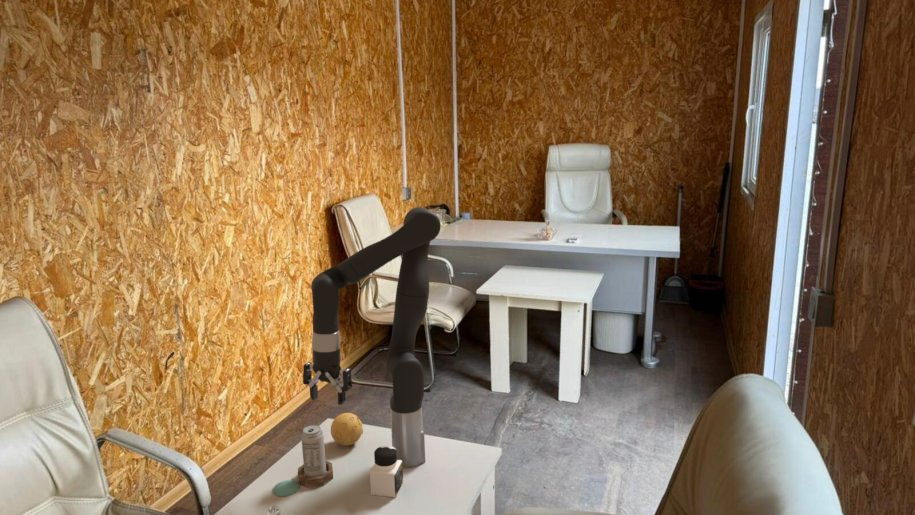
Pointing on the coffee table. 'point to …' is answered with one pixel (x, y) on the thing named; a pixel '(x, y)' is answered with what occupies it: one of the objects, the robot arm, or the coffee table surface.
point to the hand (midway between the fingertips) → (327, 401)
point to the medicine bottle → (386, 472)
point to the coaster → (286, 488)
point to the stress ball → (346, 429)
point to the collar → (315, 480)
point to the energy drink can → (313, 451)
